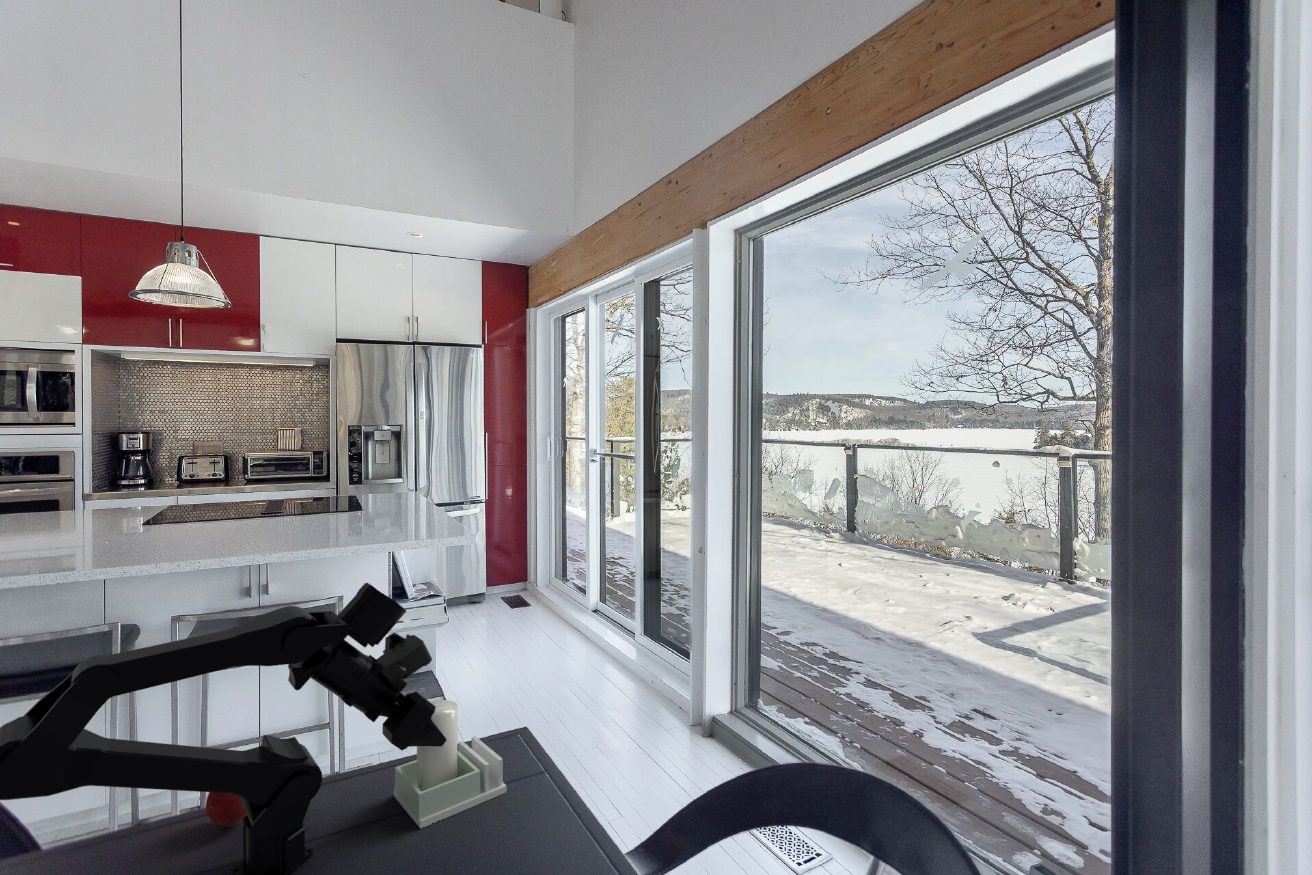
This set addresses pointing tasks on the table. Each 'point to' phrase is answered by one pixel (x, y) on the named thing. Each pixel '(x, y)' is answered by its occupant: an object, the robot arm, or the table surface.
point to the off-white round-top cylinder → (439, 749)
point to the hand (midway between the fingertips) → (430, 730)
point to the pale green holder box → (452, 785)
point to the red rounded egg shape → (225, 808)
